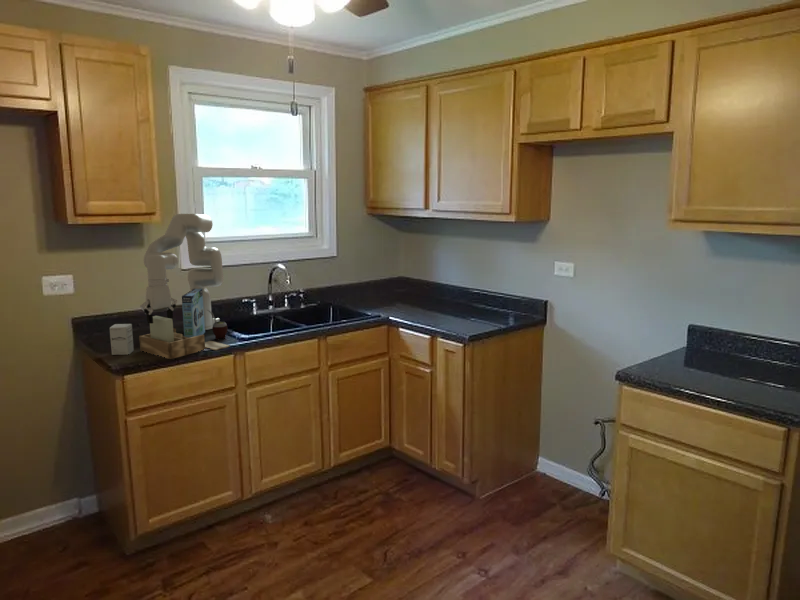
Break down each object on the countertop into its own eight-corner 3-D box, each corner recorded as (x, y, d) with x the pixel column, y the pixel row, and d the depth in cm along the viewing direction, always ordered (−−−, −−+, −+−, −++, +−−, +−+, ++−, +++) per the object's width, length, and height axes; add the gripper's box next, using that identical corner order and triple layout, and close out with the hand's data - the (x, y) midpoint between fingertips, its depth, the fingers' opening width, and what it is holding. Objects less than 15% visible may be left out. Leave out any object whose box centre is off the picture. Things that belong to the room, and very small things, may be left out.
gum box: (195, 333, 299) (192, 288, 295) (206, 332, 299) (203, 288, 295) (184, 343, 280) (180, 295, 276) (195, 342, 280) (191, 295, 276)
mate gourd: (231, 337, 289) (229, 308, 286) (219, 341, 283) (217, 311, 280) (220, 336, 293) (218, 306, 290) (207, 339, 286) (205, 309, 283)
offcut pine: (173, 338, 275) (173, 332, 275) (182, 340, 272) (182, 334, 272) (165, 340, 271) (165, 334, 271) (175, 342, 269) (174, 336, 268)
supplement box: (111, 355, 260) (108, 327, 257) (117, 350, 267) (114, 323, 265) (128, 354, 260) (126, 327, 258) (134, 350, 268) (132, 323, 265)
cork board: (210, 342, 282) (210, 340, 281) (229, 346, 274) (229, 345, 274) (196, 345, 275) (196, 344, 275) (215, 350, 267) (215, 349, 267)
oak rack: (175, 342, 281) (174, 328, 280) (205, 349, 268) (204, 334, 267) (140, 351, 266) (139, 336, 265) (170, 359, 254) (168, 343, 253)
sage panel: (159, 349, 268) (156, 315, 265) (175, 354, 262) (172, 319, 259) (151, 351, 265) (149, 317, 262) (167, 356, 259) (165, 320, 256)
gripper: (170, 279, 266) (172, 317, 269) (134, 284, 253) (137, 323, 256) (180, 281, 262) (182, 318, 265) (144, 286, 248) (147, 325, 251)
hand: (160, 321), depth 260 cm, fingers open, 9 cm apart
